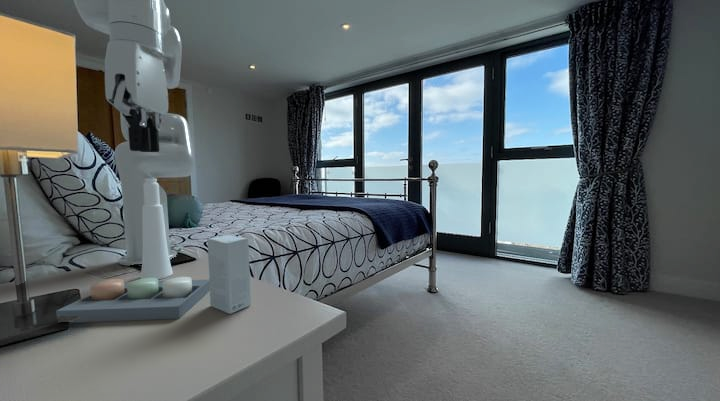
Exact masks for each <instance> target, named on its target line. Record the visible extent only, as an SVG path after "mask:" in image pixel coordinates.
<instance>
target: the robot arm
mask: <svg viewBox="0 0 720 401" xmlns="http://www.w3.org/2000/svg"><path fill="white" fill-rule="evenodd" d="M73 3H74V5H75V8H76V10H77V12H78V14H79V16H80V18H81V20H82V21H83V22H84V24H86V25H87V26H88V27H90V28H92V29H93V30H96V31H98V32H101V33H103V34H105V35H108V36H109V41H108V42H107V46H106V51H105V52H106V53H105V58H104V87H105V88H104V91H105V99H106V100H107V102H108V103H109V104H111V105H112V106H113V107H114V108H115V110H117V111H119V113H120V115H119V116H120V129H121V133H122V136H123V138H124V139H125V141H124V142H121V143H119V144H118V145H117V146H116V147H115V150H114V159H115V160H114V161H115V164H116V168H117V170H118V171H117V172H118V175H119V181H120V185H121V186H120V187H121V188H120V189H121V195H122V196H121V197H122V208H123V209H122V211H123V223H124V234H125V239H124V240H125V249H126V255H123V256H121V257H120V258H119V259H118V260H119V265H122V266H128V267H129V266H130V265H134V264H142V256H143V228H142V207H143V206H144V205H145V202H144V187H143V184H144V183H145V179H158V178H185V177H190V176H191V175H193V173H194V171H195V168H196V167H195V166H196V159H195V152H194V147H193V141H192V137H191V129H190V125H189V123H188V121H187V119H186V118H185V117H184V116H182V115H180V114H177V113H172V112H171V113H170V112H169V92H168V89H169V90H171V89H176V88H177V87H178V86H179V85H180V80H181V69H182V68H181V65H182V54H183V53H182V52H183V48H182V46H183V45H182V39H181V36H180V33H179V31H178V30H177V29H176V28H175V27H174V26H172V25H171V22H172V21H171V15H170V14H171V13H170V10H169V7H167V6H166V4H165V1H164V0H73ZM159 196H160V205H162V207H163V214H164V222H165V231H166V240H167V247H168V254H169V259H170V260H172V258H173V259H174V257H175V258H176V257H177V256H178V254H177V253H178V251H176V250H175V249H171V246H172V245H175V244H176V242H177V240H176V239H175V238H174V237H171V238H170V228H169V211H168V210H169V209H168V197H167V193H166V191H165V189H164V188H163V187H162V186H161V185H160V184H159ZM176 255H177V256H176Z"/></svg>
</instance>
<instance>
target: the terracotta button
mask: <svg viewBox="0 0 720 401" xmlns="http://www.w3.org/2000/svg"><path fill="white" fill-rule="evenodd" d="M124 282H125V280H124V279H123V278H111V279H103V280H100V281H97V282H94V283H93V284H91V285H90V287H89V288H90V294H91V298H92V301H108V300H115V299H116V298H118V297H120V296H122V295H124V294H125V290H124Z"/></svg>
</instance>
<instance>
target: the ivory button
mask: <svg viewBox="0 0 720 401" xmlns="http://www.w3.org/2000/svg"><path fill="white" fill-rule="evenodd" d="M192 280H193V279H192V277H190V276H177V277H173V278H169V279H167V280H163V281H164V282H163V283H162V285H163V298H164V299H165V298H186V296H188V295H190V294H191V293H192Z"/></svg>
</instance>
